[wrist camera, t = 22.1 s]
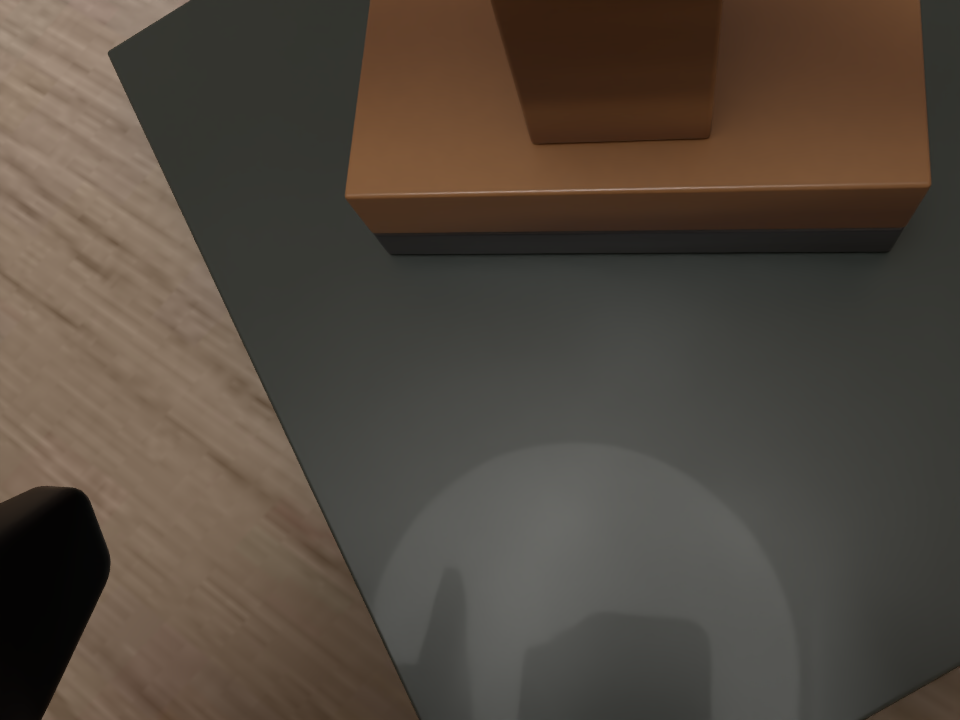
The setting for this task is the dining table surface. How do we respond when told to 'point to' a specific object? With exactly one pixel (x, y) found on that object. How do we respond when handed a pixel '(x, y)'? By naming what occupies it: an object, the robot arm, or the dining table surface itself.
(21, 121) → the dining table surface
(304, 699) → the dining table surface
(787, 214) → the eraser
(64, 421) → the dining table surface
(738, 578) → the slate board
